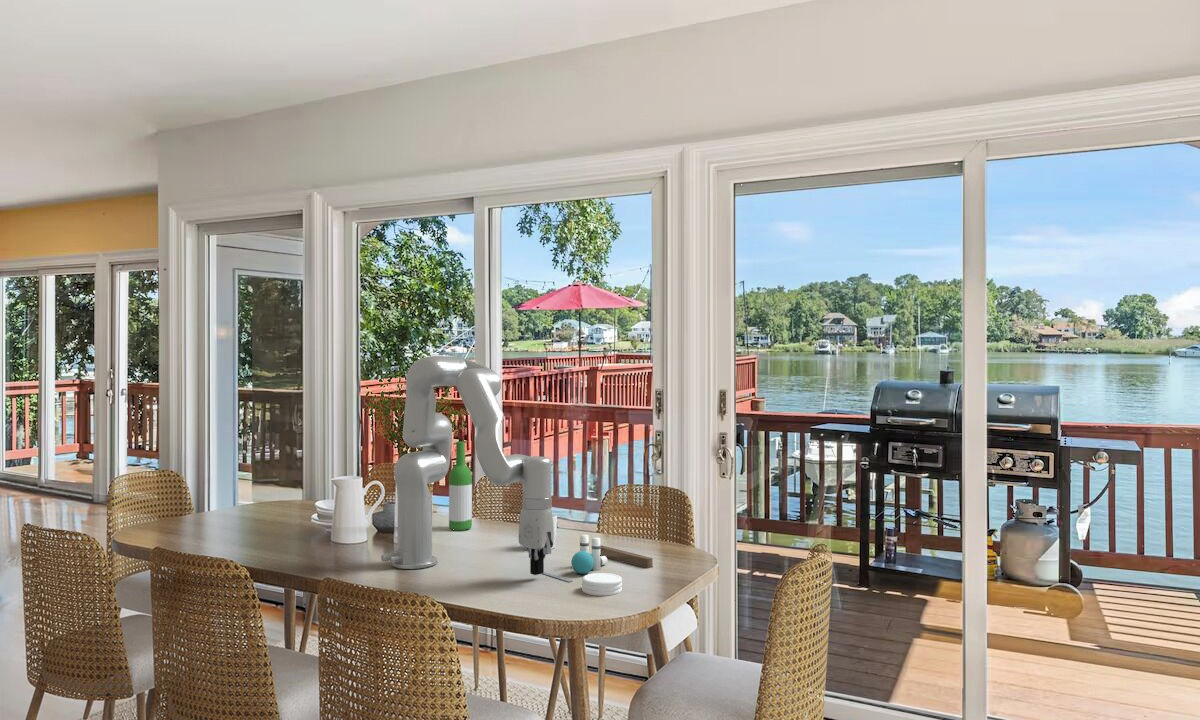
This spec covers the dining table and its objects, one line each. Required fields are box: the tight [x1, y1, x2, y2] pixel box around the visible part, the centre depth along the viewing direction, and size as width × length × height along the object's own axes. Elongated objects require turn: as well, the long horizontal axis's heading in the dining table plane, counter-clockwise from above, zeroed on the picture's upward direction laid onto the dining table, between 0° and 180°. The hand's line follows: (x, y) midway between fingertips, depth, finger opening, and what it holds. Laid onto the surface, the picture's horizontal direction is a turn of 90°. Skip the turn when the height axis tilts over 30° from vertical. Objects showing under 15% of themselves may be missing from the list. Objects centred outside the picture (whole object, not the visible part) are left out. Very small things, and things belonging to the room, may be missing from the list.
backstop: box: [600, 544, 654, 569], centre depth 234 cm, size 2×22×2 cm, turn 42°
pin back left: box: [579, 534, 590, 554], centre depth 227 cm, size 2×2×8 cm
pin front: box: [600, 556, 608, 567], centre depth 226 cm, size 2×2×8 cm
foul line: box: [542, 571, 574, 583], centre depth 216 cm, size 1×16×1 cm, turn 41°
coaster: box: [581, 572, 623, 597], centre depth 203 cm, size 10×10×4 cm
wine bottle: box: [448, 441, 473, 531], centre depth 279 cm, size 8×8×30 cm
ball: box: [571, 550, 594, 575], centre depth 219 cm, size 6×6×6 cm
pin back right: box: [591, 537, 601, 571], centre depth 223 cm, size 2×2×8 cm
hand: (537, 573), depth 213 cm, fingers closed
